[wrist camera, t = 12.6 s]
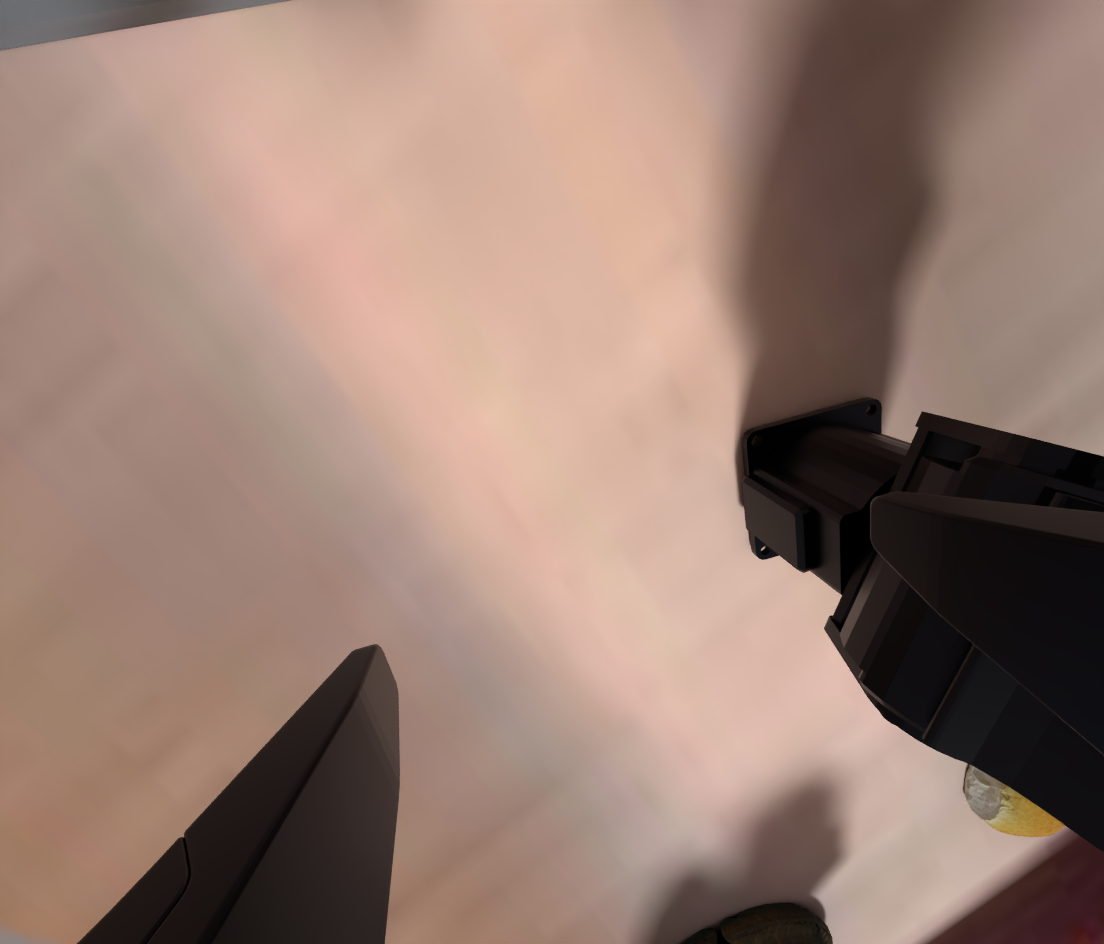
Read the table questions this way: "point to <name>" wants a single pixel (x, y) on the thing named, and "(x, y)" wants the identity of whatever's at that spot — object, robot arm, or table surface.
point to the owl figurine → (769, 927)
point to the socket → (97, 16)
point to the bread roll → (1006, 807)
